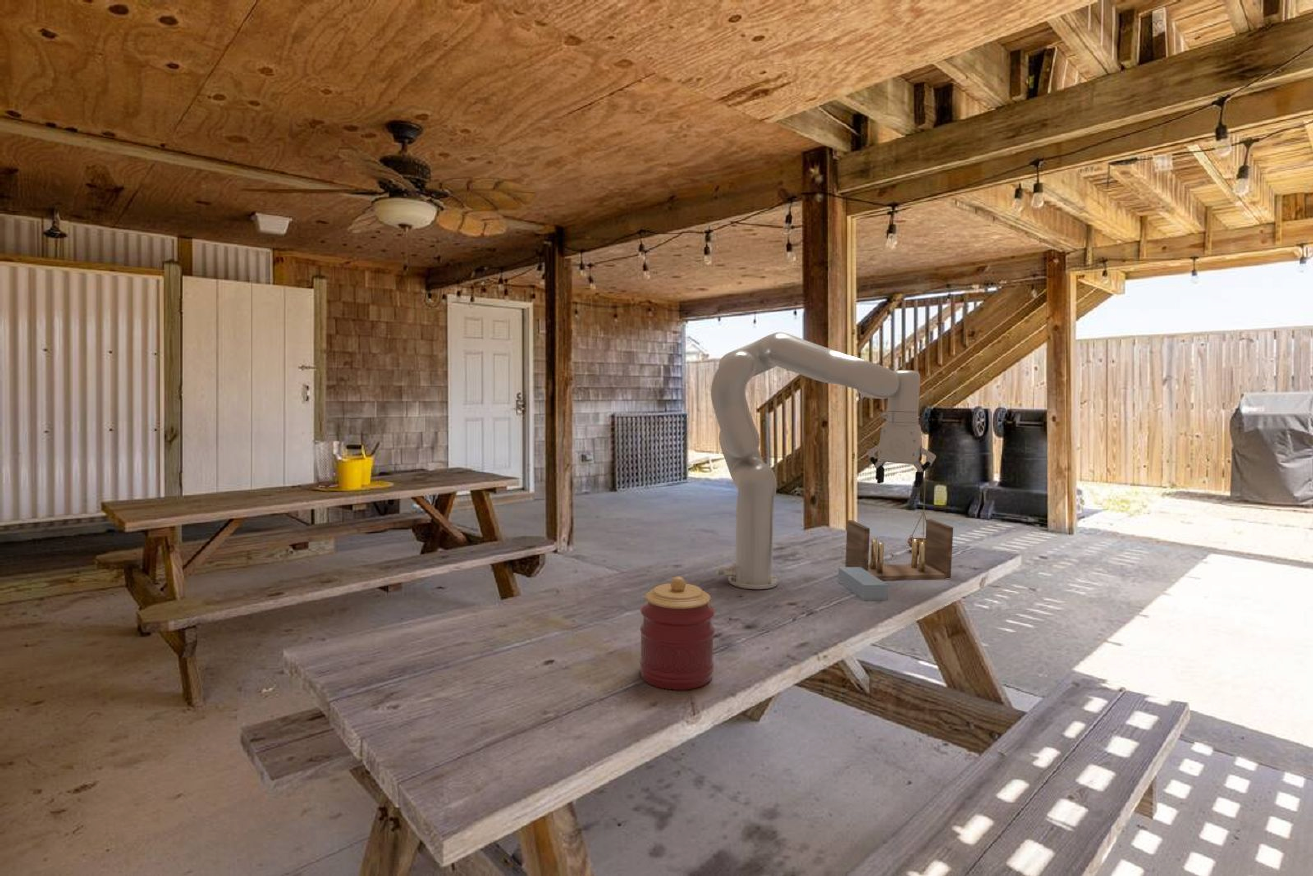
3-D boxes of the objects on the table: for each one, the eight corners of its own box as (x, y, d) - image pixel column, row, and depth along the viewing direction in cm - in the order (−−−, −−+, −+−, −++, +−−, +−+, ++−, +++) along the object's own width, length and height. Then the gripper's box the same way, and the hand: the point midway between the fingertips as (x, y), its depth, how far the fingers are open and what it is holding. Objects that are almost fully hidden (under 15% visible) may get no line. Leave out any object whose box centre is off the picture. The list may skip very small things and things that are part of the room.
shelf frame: (862, 580, 182) (864, 528, 181) (845, 569, 193) (847, 520, 192) (950, 578, 185) (953, 527, 184) (929, 567, 196) (931, 519, 195)
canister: (676, 699, 112) (678, 592, 111) (624, 674, 121) (625, 575, 120) (728, 676, 121) (731, 578, 120) (676, 655, 130) (677, 563, 129)
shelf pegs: (878, 573, 185) (879, 543, 185) (869, 567, 191) (870, 539, 190) (925, 572, 187) (927, 543, 186) (915, 566, 193) (916, 538, 192)
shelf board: (887, 600, 166) (888, 584, 166) (863, 601, 166) (864, 585, 165) (859, 582, 182) (860, 567, 182) (838, 582, 182) (838, 567, 181)
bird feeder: (907, 554, 212) (912, 457, 209) (906, 548, 220) (910, 454, 218) (938, 557, 209) (943, 458, 207) (936, 550, 217) (940, 455, 215)
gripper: (863, 417, 179) (860, 482, 180) (933, 420, 168) (929, 490, 170) (874, 416, 185) (871, 480, 186) (941, 420, 174) (937, 487, 176)
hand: (898, 484), depth 178 cm, fingers open, 9 cm apart
